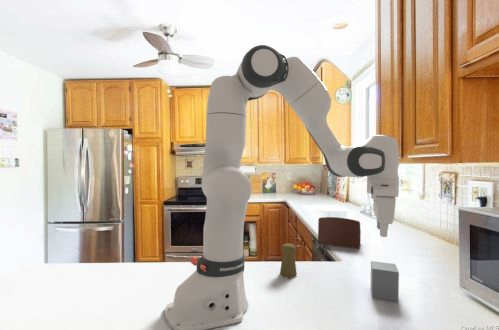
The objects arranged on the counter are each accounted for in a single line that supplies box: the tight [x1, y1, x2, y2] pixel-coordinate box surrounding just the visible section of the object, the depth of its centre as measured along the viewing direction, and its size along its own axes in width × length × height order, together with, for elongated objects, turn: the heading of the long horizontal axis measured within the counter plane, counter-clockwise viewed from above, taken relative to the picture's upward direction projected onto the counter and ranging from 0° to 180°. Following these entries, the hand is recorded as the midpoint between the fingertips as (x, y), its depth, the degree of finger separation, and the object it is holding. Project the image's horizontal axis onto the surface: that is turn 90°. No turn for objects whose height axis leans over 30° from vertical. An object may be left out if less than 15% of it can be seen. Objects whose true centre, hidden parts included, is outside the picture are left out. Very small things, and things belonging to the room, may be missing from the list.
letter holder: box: [317, 216, 362, 250], centre depth 137 cm, size 10×20×14 cm, turn 66°
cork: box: [279, 243, 298, 279], centre depth 98 cm, size 6×6×11 cm
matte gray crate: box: [370, 260, 400, 303], centre depth 83 cm, size 7×7×9 cm
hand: (381, 232), depth 84 cm, fingers open, 8 cm apart
